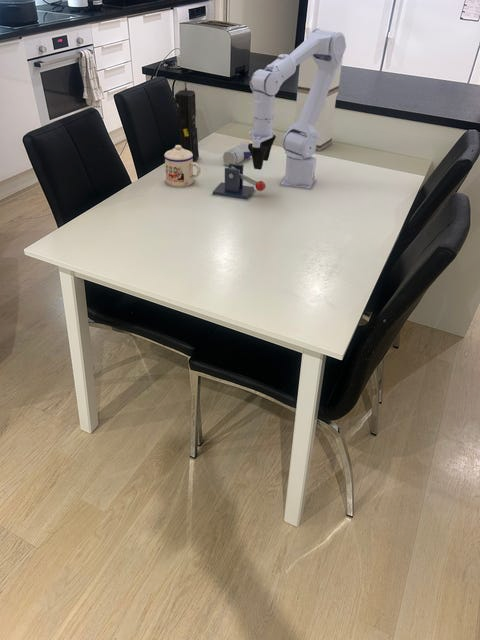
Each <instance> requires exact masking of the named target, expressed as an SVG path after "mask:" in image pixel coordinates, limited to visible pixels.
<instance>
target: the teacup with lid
mask: <svg viewBox="0 0 480 640" xmlns="http://www.w3.org/2000/svg"><path fill="white" fill-rule="evenodd" d="M163 158H164V164H165V165H164V166H165V181H166V184H168V185H169V186H172V187H187V186H189V185H192V184H193V183H194V179H196V178H198V177H199V176H200V174H201V166H200V165H199V163H197V162H196V161H195V162H193V154H192V152H190V151H188V150H185V149H183V148H182V147H181V145H180V144H175V146H174V147H173V148H172V149H169V150H167V151H166V152H165V153H164V155H163ZM194 167H196V170H197V171H196V174H194Z"/></svg>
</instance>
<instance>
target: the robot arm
mask: <svg viewBox="0 0 480 640" xmlns="http://www.w3.org/2000/svg"><path fill="white" fill-rule="evenodd" d="M346 43H347V42H346V36H345V35H344V33H343V32H341V31H332V30H331V31H330V30H325V29H320V28H316V27H315V28H313V29H312V30H311V31H309V32H308V33H307V34H306V38H305V40H303V42H302V43H300V44H299V45H298V46H297V47H296V48H295V49H293V51H291V53H289V54H287V53H281V54H279V55H278V56H277V58H276V59H274V61H272V62H271V63H270V64H267V65H266V67H265V68H264V69H257V70H256V71H254V72H253V74H252V76H251V79H250V81H249V87H250V90H251V92H252V98H253V111H252V112H253V114H252V115H253V116H252V130H249V131H248V136H251V137H252V143H251V142H248V143H249V144H248V149H249V151H250V153H251V159H252V165H253V169H254V170H262V168H263V166H264V161H265V162H268V160H269V159H270V155H271V150H272V146H273V144H274V143H275V140H276V138H277V135H275V134H274V118H275V100H276V99H275V98H276V95H277V93H278V92H279V91H280V88H281V86H282V85H283V83H284V82H285V81H287V79H289V78H290V77H292V76H293V75H294V74H295V72H296V70H297V66H300V63H302V62H303V61H305V60H306V59H308V58H309V57H311V56H312V57H313V59H314V61H315V62H316V63H317V66H318V70H317V73H316V76H315V78H314V81H313V84H312V86H311V89H310V91H309V94H308V97H307V99H306V102H305V104H304V107H303V110H302V112H301V115H300V118H299V120H298V121H297V122H295V121H294V122H293V123H292V124H290V125H289V127H288V129H287V131H286V133H285V134H284V135H283V137H282V142H281V144H282V146H281V147H282V149H283V150H285V152H284V154H285V155H286V159H285V160H286V161H285V172H284V173H285V174H284V178H283V180H282V181H281V182H280V183H281V186H288V187H294V188H295V187H296V188H303V189H311V188H312V186H313V184H314V181H315V175H316V165H317V157H316V156H315V157H314V156H313V155H314V154H315V153H316V145H317V140H318V137H319V136H318V133H317V131H316V130H315V128H314V127H315V124H316V122H317V119H318V117H319V114H320V112H321V109H322V107H323V104H324V102H325V99H326V96H327V94H328V91H329V89H330V86H331V84H332V81H333V79H334V76H335V74H336V71H337V68H338V66H339V64H340V62H341V59H342V56H343V57H344V54H345V51H346V49H347V44H346ZM342 60H343V59H342ZM300 133H304V134H307V136H306V135H303V134H300Z"/></svg>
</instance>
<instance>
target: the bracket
mask: <svg viewBox="0 0 480 640" xmlns="http://www.w3.org/2000/svg"><path fill="white" fill-rule="evenodd" d="M232 166H234V167H236V168H237V169H232V168H231V167H232ZM240 173H241V174H243V175H244V164H240V163H238V164H232V163H230V164H229V166H228V167H224V182H223V181H221V182H220V183H219V184H218V185H217V186H216V187H215V189H214V190H213V191H212V195H214V196H220V197H221V196H222V197H227V198H234V199H242V200H248V199H249V198H250V197H251V195H252V193H253V192H254V191H255V187H254V186H250V185H244V180H243V179H241V178H239V175H240Z"/></svg>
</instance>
